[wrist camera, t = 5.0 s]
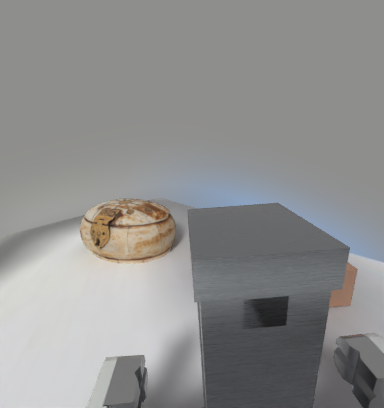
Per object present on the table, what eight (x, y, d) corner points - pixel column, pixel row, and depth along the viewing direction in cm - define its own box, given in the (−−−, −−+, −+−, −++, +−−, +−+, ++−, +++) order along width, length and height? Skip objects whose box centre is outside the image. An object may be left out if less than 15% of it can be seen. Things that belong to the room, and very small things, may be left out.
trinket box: (95, 235, 39) (86, 196, 37) (172, 225, 42) (168, 187, 39) (67, 279, 27) (51, 222, 24) (181, 261, 29) (176, 208, 27)
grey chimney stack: (211, 533, 9) (191, 260, 5) (202, 417, 12) (187, 209, 8) (299, 523, 9) (350, 247, 5) (264, 411, 12) (278, 203, 8)
